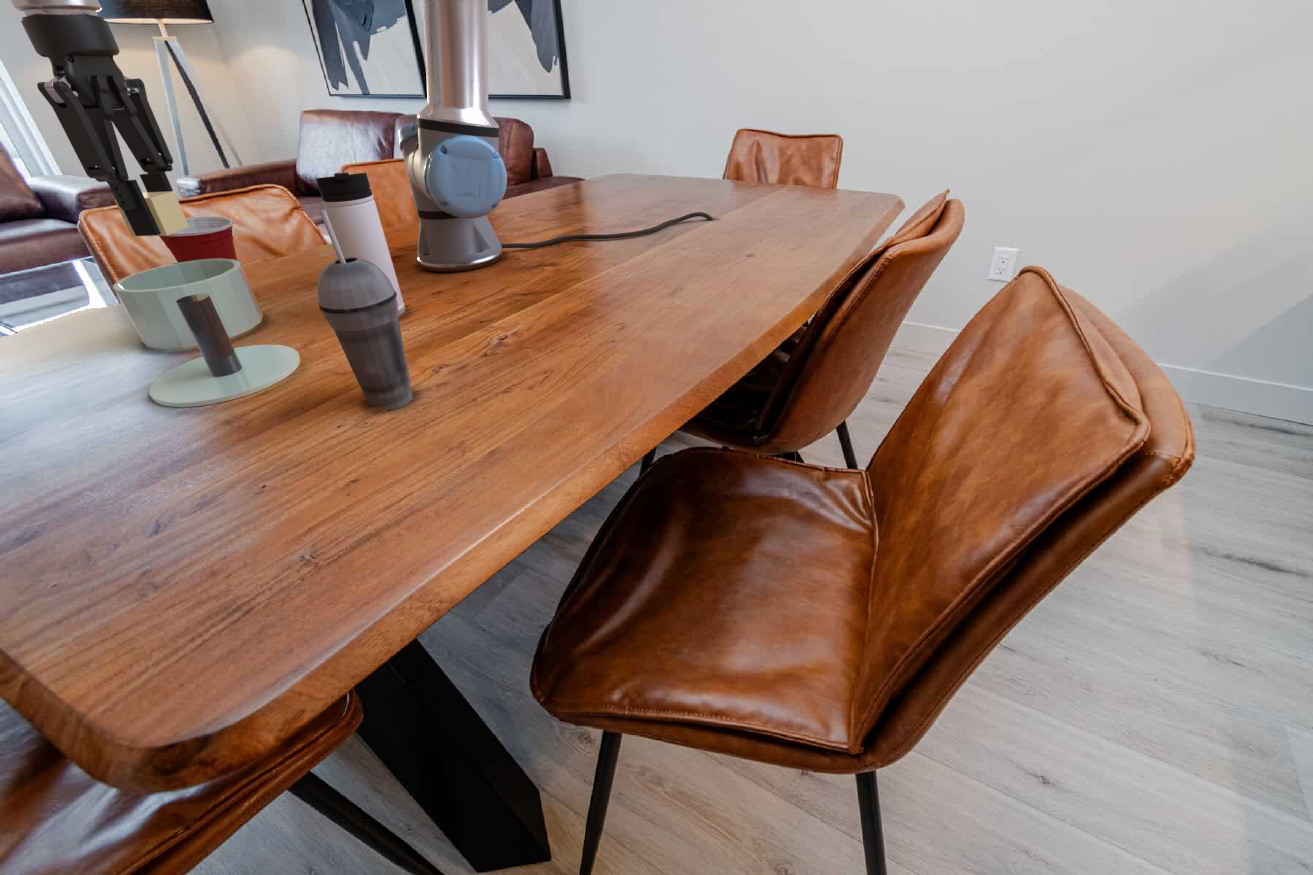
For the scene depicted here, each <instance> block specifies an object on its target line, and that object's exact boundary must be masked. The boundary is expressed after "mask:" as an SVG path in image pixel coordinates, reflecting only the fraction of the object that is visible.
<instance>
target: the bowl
mask: <svg viewBox="0 0 1313 875" xmlns="http://www.w3.org/2000/svg"><path fill="white" fill-rule="evenodd" d="M112 290H113V291H114V293H115V295H116V296H117V298H118V300H119V302H120V303H121V305H122V307H123V308H124V311H125V312H126V314H127V316H128V318H129V320H130V322H131V323H132V326H133V327H134V329H135V331H136V334H137V335H138V336H139V338H140V340H141V342H142V343H143V344H144V345H145V346H146V348H148V349H149V348H150V349H154V350H155V349H156V350H161V351H162V350H164V351H165V350H179V349H188V348H195V347H198V346H197V344H196V342H195V340H194V338H193V336H192V334H191V332H190V330H189V328H188V326H187V324H186V322H185V320H184V318H183V316H182V314H181V312H180V310H179V308H178V306H177V304H176V301H177V300H178V299H180V298H183V297H186V296H190V295H195V294H208V295H209V296H210V298H211V300H212V302H213V304H214V306H215V309H216V311H217V313H218V315H219V317H220V319H221V322H222V324H223V326H224V328H225V330H226V332H227V335H228V337H229V339H230V338H235V337H236V336H238V335H240V334H242V333H245V332H247V331H249V330H252V329H253V328H254V327H256V326H257V325H259V324H260V323H262V320H263V318H264V315H263V312H262V310H261V307H260V304H259V303H258V299H257V298H256V295H255V293H254V291H253V288H252V286H251V284H250V281H249V279H248V276H247V274H246V271H245V269H244V267H243V264H242V262H240V261H238V259H237V260H235V259H222V258H217V259H201V260H193V261H186V262H179V263H178V262H175V263H169V264H164V265H160V266H156V267H152V268H148V269H144V270H141V271H138V272H135V273H131V274H130V275H127V276H125V277H123V278H120V279H118V280H117V281H116V282H115V283H114V284H112Z"/></svg>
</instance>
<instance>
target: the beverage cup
mask: <svg viewBox="0 0 1313 875" xmlns="http://www.w3.org/2000/svg"><path fill="white" fill-rule="evenodd" d="M319 213H320V216H321V218H322V221H323V223H324V227H325V229H326V231H327V233H328V236H329V239H330V242H331V244H332V246H333V249H334V251H335V254H336V257H337V259H336V260H334V261H333V262H331V263H329V264H328V265H327V266H326V267H325V268H324V269H323V271H322V272H321V274H320V276H319V278H318V282H317V288H316V293H317V294H316V295H317V299H318V308H319V311H321V312H323V313H322V314H323V315H324V317H325V320H326V321H327V323H328V324H329V326H330V328H331V329H333V331H334V333H335V335H336V337H337V340H338V342H339V344H340V346H341V348H342V351H343V352H344V355H345V357H346V359H347V361H348V363H349V366H350V367H351V370H352V373H353V374H354V377H355V379H356V381H357V383H358V385H359V387H360V389H361V392H362V394H363V396H364V397H365V399H366V400H367V403H368V404H370V405H371V406H373V407H388V409H387V411H393V410H397V409H400V408H402V407H404V406H406V405H407V404H409V403H410V402H411V401H412V400H413V397H414V396H413V391H412V385H411V384H412V381H411V377H410V371H409V365H408V362H407V356H406V352H405V346H404V341H403V336H402V331H401V327H400V320H399V315H398V304H397V299H396V296H397V293H396V291H395V290H394V288H393V286H392V284H391V282H390V280H389V279H388V277H387V276H386V275H385V273H384V272H383V271H382V270H381V269H380V268H379V267H377V266H376V265H375V264H373V263H371V262H369V261H367V260H364V259H361V258H356V257H349V258H344V257H343V254H342V252H341V249H340V246H339V244H338V241H337V239H336V236H335V234H334V231H333V229H332V226H331V224H330V221H329V219H328V216H327V213H326V210H325V209H321V210H319Z"/></svg>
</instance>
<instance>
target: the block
mask: <svg viewBox="0 0 1313 875" xmlns="http://www.w3.org/2000/svg"><path fill="white" fill-rule="evenodd" d="M141 192H142V191H141ZM142 194H143V196H144V198H145V201H146V203H147V205H148V207H149V209H150V211H151V213H152V215H153V218H154V220H155V222H156V224H157V226H158V228H159V230H160V232H161V234H159V235H147V236H146V237H159V236H166V235H170V234H173V233H175V232H178V231H180V230H183V229H186V228H188V227H189V225H188V223H187V220H186V218H187V217H186V215H185V214H184V211H183V208H182V206H181V205H180V204H181V203H180V201H179V200H178V197H177V195H176V192H175V191H174V190H173V191H168V192H147V191H143V192H142ZM113 200H114V203H115V205H116V206H117V207H116V208H117V209H118V211H119V214H120V215H121V217H122V219H123V221H124V224H125V226H126V227H127V230H128V231H129V234H130V236H131V237H132V238H133V237H136V238H137V237H138V236H136V235H135V233H134V231H133V229H132V227H131V225H130V223H129V221H128V219H127V217H126V215H125V213H124V211H123V210H122V209H121V207H120V206H119V205H118V203H117V200H116V198H114V199H113Z"/></svg>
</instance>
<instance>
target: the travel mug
mask: <svg viewBox="0 0 1313 875" xmlns="http://www.w3.org/2000/svg"><path fill="white" fill-rule="evenodd" d="M315 182H316V185H317V187H318V191H319V193H320V196H321V199H322V204H323V205H324V210H325V211H326V213H327V216H328V219H329V221H330V224H331V226H332V229H333V231H334V234H335V236H336V239H337V241H338V244H339V246H340V249H341V252H342V254H343V257H344V258H349V257H356V258H361V259H364V260H367V261H369V262H371V263H373V264H375V265H376V266H377V267H379V268H380V269H381V270H382V271H383V272H384V273H385V275H386V276H387V277H388V279H389V280H390V282H391V284H392V286H393V288H394V290H395V291H396V293H397V296H396V299H397V304H398V316H401V315H402V314H404V313H405V312H406V306H405V303H404V299H403V295H402V292H401V288H400V285H399V280H398V278H397V275H396V274H397V273H396V271H395V267H394V264H393V260H392V257H391V253H390V250H389V247H388V243H387V239H386V235H385V233H384V229H383V225H382V222H381V219H380V215H379V211H378V208H377V204H376V200H375V198H374V197H375V196H374V194H373V192H372V189H371V188H370V187H371V185H370V182H369V178H368V175H367V172H360V173H352V174H351V173H350V174H349V172H348V171H347V172H346V171H345V172H337V173H333V176H325V177H316V178H315Z"/></svg>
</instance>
